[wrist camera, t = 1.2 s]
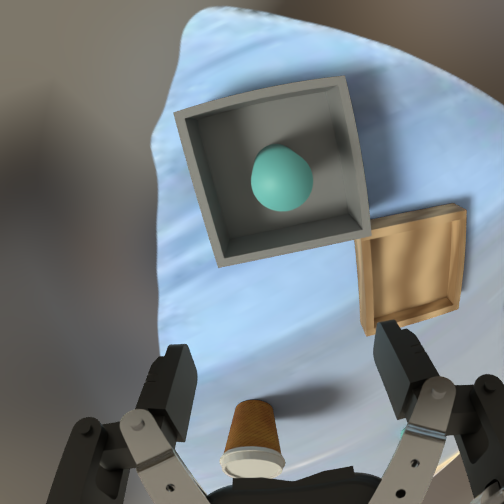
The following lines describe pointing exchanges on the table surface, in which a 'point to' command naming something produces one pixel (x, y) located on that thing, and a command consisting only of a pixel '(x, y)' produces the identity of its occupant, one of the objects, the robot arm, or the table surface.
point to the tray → (411, 266)
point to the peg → (281, 178)
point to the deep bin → (243, 157)
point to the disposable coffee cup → (253, 443)
